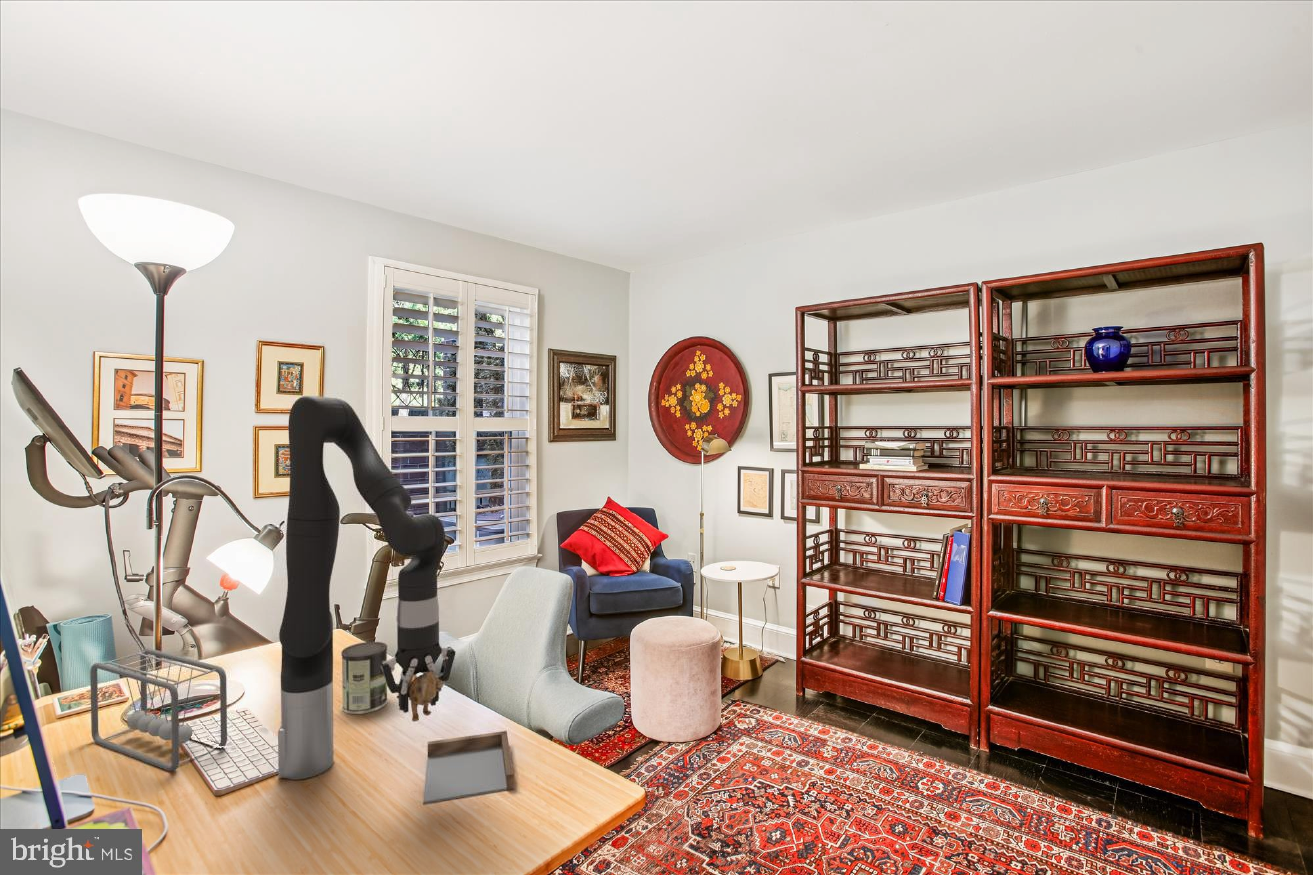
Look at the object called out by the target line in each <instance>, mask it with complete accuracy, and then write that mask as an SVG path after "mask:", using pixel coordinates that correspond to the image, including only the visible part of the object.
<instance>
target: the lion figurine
mask: <svg viewBox="0 0 1313 875" xmlns="http://www.w3.org/2000/svg"><path fill="white" fill-rule="evenodd" d="M444 684H445V681H442V680H440V679H438V678H437V677H435V673H434V672H423V673H422V674H420V675H419V676H417V674H416V675H413V677H412V681H411V682H410V684H409V688H408V691H407V692H408V701H410V706H411V712H412V714H411V715H412V717H411V718H412V719H411V720H412V722H414V723H415V722H418V721H419V719H420V716H419V713H418V706H423V707H422V708H423V709H422V713H423V715H424V716H427V717H428V716H430V715H431V714H432V711H431V710H429V705H430V702H431V699H433V698H434V697H435V696H436V691H438V692H439V693H440V692H442V688H443V687H444ZM396 699H398V700H399V696H398V695H396ZM398 709H399V711H401V709H400V707H399V706H398Z"/></svg>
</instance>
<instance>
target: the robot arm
mask: <svg viewBox="0 0 1313 875" xmlns="http://www.w3.org/2000/svg"><path fill="white" fill-rule="evenodd" d="M325 443H327V444H329V443H330V444H332V443H333V444H335V445H336V446H337V447H338V448H340V449H341V451H342V452H343V453H344V454H346V457H347V458H348V459H349V461H350V464H351V467H352V475H353V480H354V484H355V487H356V489H357V491H358V493H359V495H360V496H361V497H362V499H363V500H364V501H365V502H366V504H367V505H368V506H369V508H371V510H372V511H373V513H374V514H375V515H376V517H377V520H378V523H379V525H380V527H381V530H382V532H383V535H384V538H385V540H386V542H387V544H388V547H390V549H391V550H392V551H393V552H395V553H397V554H398V555H400V556H404V557H410V556H411V558H410V561H409V562H408V563H407V564H406V565H405V566H403V567H402V568H400V570H399V572H398V577H397V580H398V581H397V589H398V590H397V594H398V596H397V600H398V601H397V609H396V619H395V620H396V628H397V632H396V637H397V638H396V640H397V642H396V644H397V650H396V653H395V655H394V657H391V658H390V659H387V661H385V660H383V661H381V662H380V666H381V669H382V672H383V675H384V677H385V680H386V683H387V689H388V690H389V691H390V693H392V694H397V696H399V699H398V708H399V707H400V709H401V710H400V711H402V712H403V714H406V713H409V707H410V706H409V701H410V700H409V697H408V692H407V691H408V688H409V684H410V682H411V681H412V677H413V675H416V676H417V674H421V673H426V672H434V673H435V677H437V678H438V679H440V680H442V681H444V682H447V681H448V680H449V678H450V675H451V672H452V668H453V664H454V660H455V658H456V653H457V652H456V651H455V650H454V648H452V646H448V647H441V645H440V606H439V599H438V571H439V568H440V564H441V561H442V556H443V551H444V548H445V542H446V531H445V527H444V524H443V522H442V520H441V519H440V518H439V517H438V516H437V515H434V514H432V513H424V514H420V515H415V516H410V515H409V514H408V513H407V511H408V510H409V509H410V506H411V505H412V497H411V495H410V493H409V492H408V490H407V489H406V488H405V487H404V486H403V485H402V483H401V482H400V481H399V479H398V478H397V477H396V476H395V475H394V473H393V472H392V471H391V469H390V468H389V467H388V466H387V464H386V463H385V462H384V460H383V459H382V457H381V455H380V453H379V452H378V451H377V449H376V447H375V445H374V444H373V441H372V439H371V438H370V436H369V434H368V433H367V431H366V429H365V426H364V425H363V424H362V422H361V420H360V418H359V416H358V414H357V412H356V411H355V410H354V408H353V407H352V406H351V405H350V403H348V402H347V401H346V400H343V399H340V398H335V397H329V396H328V397H327V396H318V395H303V396H300V397H299V398H297V399H296V400H295V401H294V403H293V404H292V406H291V408H290V412H289V416H288V446H289V449H288V450H289V491H288V492H289V493H288V494H289V496H288V509H287V518H286V519H287V520H286V533H285V540H286V544H285V557H286V559H285V561H286V562H285V563H286V574H287V576H286V577H287V588H286V590H287V591H286V598H285V605H284V610H283V617H282V621H281V625H280V627H279V632H278V635H279V636H278V637H279V638H278V639H279V643H280V645H281V667H280V668H281V670H280V710H281V711H280V713H281V714H280V718H281V720H280V727H279V728H278V731H277V745H278V746H277V747H278V749H277V751H278V753H277V754H278V756H277V758H278V760H277V761H278V766H277V767H278V768H277V770H278V771H277V772H278V779H289V780H303V779H309V778H313V777H315V776H318V775H320V774H323V773H325V772H326V771H327V770H328V769H330V768H331V767H332V766H333V764H334V760H335V759H334V754H335V753H334V752H335V751H334V749H335V748H334V621H333V620H334V619H333V615H332V612H331V603H330V600H331V599H330V588H331V578H332V575H333V569H334V564H335V560H336V554H337V548H338V540H339V532H340V517H341V516H340V515H341V512H340V510H341V509H340V504H339V501H338V499H337V496H336V494H335V492H334V490H333V488H332V486H331V485H330V483H329V480H328V478H327V475H326V472H325V468H324V444H325ZM440 657H441V658H442V662H441V667H440V670H439V673H438V672H437V670H436V667H435V664H436V662H437V661H438V659H439V658H440ZM396 664H398V665H399V667H400V668H401V671H400V672H401V673H400V677H399V682H398V683H396V681H395V676H394V675H393V672H394V671H395V669H396V668H395V666H396ZM439 699H440V692H438V691H436V696H435V697H434V698H433V699H431V702H430V703H429V705H430V706H432V707H435V706H436V705H437V702H439Z"/></svg>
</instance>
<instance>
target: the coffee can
mask: <svg viewBox="0 0 1313 875" xmlns="http://www.w3.org/2000/svg"><path fill="white" fill-rule="evenodd" d="M387 650H388V645H387V644H386V643H385V642H380V641H365V642H359V643H355V644H352V645H349V646H346V647H345V648H343V649H342V650H341V652H340V653H341V670H342V672H341V673H342V674H341V676H342V677H341V678H342V681H341V682H342V683H341V684H342V688H341V689H342V708H341V710H342V711H343V712H344V713H345V714H349V715H364V714H369V713H372V712H376V711H378V710H381V709H382V708H384V707H385V706H386V705H387V704H388V686H387V683H386V680H385V677H384V675H383V672H382V669H381V666H380V662H381V661H383V660H385V661H388V655H387V654H388V651H387Z"/></svg>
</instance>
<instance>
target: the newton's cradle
mask: <svg viewBox="0 0 1313 875" xmlns="http://www.w3.org/2000/svg"><path fill="white" fill-rule="evenodd" d="M135 656H139V660H137V661H134V662H131V663H128V664H125V665H124V664H120V663H116V662H117V661H121V660H122V661H123V660H125V659H127V658H128V659H129V658H132V657H135ZM147 659H148V662H147ZM151 659H154V660H155V661H153V662H151V663H150V660H151ZM138 662H139V665H140V666H138V667H129V666H127V665H131V664H134V663H138ZM157 662H158V667H154V668H151V669H149V665H151V664H154V663H157ZM161 662H164V663H167V664H164V665H160V664H161ZM168 665H169V666H168ZM171 665H176V666H178V667H174V668H171ZM115 666H116V667H115ZM163 666H168V669H167V670H165V671H162V672H159V669H160V668H161V667H163ZM138 668H140V669H138ZM178 668H179V672H178V673H177V674H174V675H170V676H169V674H170V671H172V670H175V669H178ZM182 668H187V669H188V670H185V671H183V672H182ZM155 669H157V670H156V674H154V673H151V672H150V671H151V670H155ZM98 670H102V671H105V672H109V673H112V674H116V675H118V676H122V677H126V682H127V685H128V689H129V694H130V697H131V701H132V703H133V708H134V711H133V712H132V713H131V714H130V715H129V716H128V717H127V719H126V725H127V727H128V729H125V730H122V731H120V732H117V733H115V734H112V735H110V736H107V737H104V738H102V737H101V736H100V732H99V696H98V694H99V693H98V690H99V689H98V686H99V684H98ZM208 670H209V671H208ZM167 671H168V672H167ZM188 671H191V672H190V677H188V678H185V679H182V680H180V677H181V676H180V675H181V674H183V673H185V672H188ZM193 671H198V672H201V673H200V674H197V675H194V676H192V675H193ZM166 672H167V676H160V674H163V673H166ZM213 672H216V673H217V674H218V676H219V689H220V690H219V701H220V702H219V703H220V704H219V706H220V709H219V710H220V713H219V714H220V717H219V718H220V742H219V741H215V740H213V741H211V742H214V743H216V744H219V746H224V747H225V746H227V742H228V708H227V707H228V705H227V704H228V698H227V697H228V696H227V695H228V694H227V693H228V692H227V688H228V686H227V675H226V674H227V673H226V672H225V669H224V668H223V667H221V666H218V665H215V664H210V663H207V662H203V661H199V660H195V659H193V658H192V659H191V658H189V657H183V656H180V655H176V654H171V653H168V652H164V651H161V650H157V649H153V648H144V649H143V650H142V651H139V652H137V653H134V654H130V655H126V656H123V657H120V658H116V659H113V660H109V661H106V662H105V661H104V662H102V663H101V662H95V663H93V665H91V667H90V673H89V674H90V676H89V679H90V720H91V721H90V724H91V725H90V726H91V737H92V740H93V741H94V743H95V744H97V745H98V746H99V745H100V746H102V747H104V746H105V748H107V749H110V750H113V751H115V750H116V751H115V752H117V751H118V753H120V752H121V754H123V753H124V754H123V755H125V754H127V755H126V756H128V755H131V756H132V757H131V756H130V757H131V758H133V757H135V758H134V759H136V758H137V759H136V760H138V759H140V760H139V761H141V760H142V762H144V761H145V763H146V762H147V764H149V763H150V765H152V766H154V765H155V766H154V767H157V766H158V767H157V768H159V767H160V769H162V768H163V770H165V769H166V770H165V771H167V770H169V771H168V772H173V771H175V770H177V769H178V767H179V766H180V765H182V764H184V763H186V762H188V761H191V760H190V758H191V757H189V758H186V759H185V760H182V761H180V745H184V744H185V743H187V742H188V741H190V738H191V736H192V734H194V733H193V732H194V731H193V728H192V727H191V726H190V725H189V724H188V725H187V724H185V717H186V713H187V712H186V711H187V707H188V706H187V705H188V699H189V698H188V697H189V692H190V687H191V680H194V679H196V678H197V679H198V678H199V677H202V676H205V675H209V674H210V673H213ZM177 675H178V678H177V680H175V679H172V677H174V676H177ZM129 679H133V680H136V683H137V688H138V691H139V692H138V693H139V695H140V703H139V709H138V710H136V705H135V701H134V697H133V693H132V690H131V687H130V684H129V683H130V682H129ZM161 679H162V680H161ZM188 681H189V684H188V690H187V694H186V695H187V696H186V700H185V708H184V715H183V720H182V721H183V722H182V724H180V722H179V721H180V720H179V692H178V687H179V684H183V683H186V682H188ZM139 682H140V685H139ZM150 685H153V686H154V688H153V693H151V688H150ZM156 687H158V689H157V690H158V692H159V697H160V701H161V708H160V709H161V710H160V713H159V714H160V715H159V716H157V713H156V709H155V704H154V696H155V691H156ZM160 688H163V689H164V692H163V698H162V694H161V689H160ZM166 690H168V691H169V695H170V703H171V704H170V705H171V706H170V707H171V708H170V709H171V711H170V712H171V713H170V714H171V718H170V720H169V719H168V718H167V714H166V709H165V706H164V702H165V696H166ZM148 692H149V696H150V701H151V703H150V709H149V713H148ZM152 708H153V712H154V713H151V712H152ZM162 712H164V716H165V717H163V716H162ZM132 730H138V731H139V732H140V733H144V734H145V733H146V734H147V733H148V734H149V735H150V736H152V737H159V739H161V740H163V741H171V763H168V762H166V761H163V760H160V759H157V758H155V757H153V756H150V755H147V754H144V753H141V752H139V751H136V750H134V749H131V748H128V747H126V746H123V745H121V744H117V743H115V742H112V741H109V739H111V738H114V737H117V736H120V735H123V734H124V733H127V732H131V731H132ZM209 739H210V738H207V740H209Z"/></svg>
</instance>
